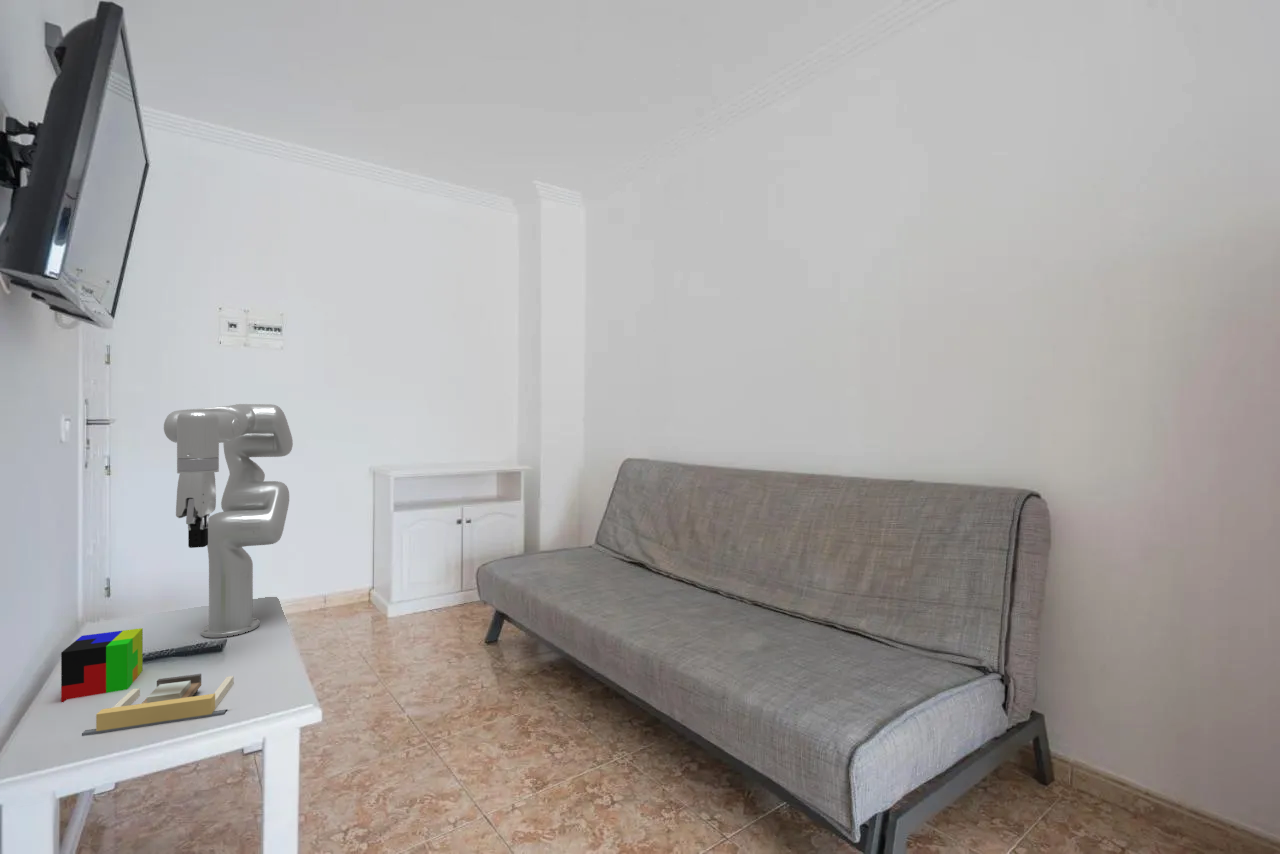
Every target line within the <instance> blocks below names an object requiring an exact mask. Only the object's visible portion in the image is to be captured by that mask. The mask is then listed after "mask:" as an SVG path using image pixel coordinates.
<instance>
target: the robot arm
mask: <svg viewBox="0 0 1280 854" xmlns="http://www.w3.org/2000/svg"><path fill="white" fill-rule="evenodd" d="M163 432H164V435H165V437H166V438H167V439H168V440H169V441H170V442H173V443H176V473H177V474H179V475H178V481H177V489H176V502H175V503H176V504H175V506H176V507H175V516H176V518H178V519H182V518H183V519H184V518H186V520H185V523H186V525H187V529H188V530H187V531H188V533H187V534H188V539H187V541H188V548H190V549H194V548H204V547H207V553H208V554H207V555H208V624H207V625H206V626H204V627H203V628H202V629H201V636H202V637H205V638H209V639H210V638H212V639H213V638H227V636H228V637H232V636H233V635H234V636H237V635H238V634H239V635H241V634H245V632H246V633H248V631H249V632H252V631H253V630H255V629H257V628H258V627H259V626H260V619H258V618H256V617H253V616H254V615H253V612H254V610H253V609H254V608H253V607H254V600H253V597H254V592H253V590H254V589H253V588H254V584H253V583H254V581H253V579H254V574H253V573H254V565H253V560H252V557H251V555H250V554H249V553H248V552H247V551H246V550H245V549H244V548H243V547H253V546H266V545H268V546H269V545H274V544H276V543H278V542H279V541H280V540H281V538H282V535H283V534H284V533H283V532H284V529H285V523H286V519H287V515H288V510H289V505H290V491H289V487H288V486H287V484H286V483H284V482H282V481H277V480H274V481H273V480H272V481H271V480H266V481H265V477H266V475H265V474H266V473H265V472H264V470H263V469H262V468H261V467H260V465H258V464H257V463H256V462H255V461H254V460H252V459H250V458H281V457H285V456H288V455H289V454H291V452H292V449H293V444H294V443H293V442H294V441H293V436H292V432H291V428H290V426H289V422H288V419H287V417H286V415H285V412H284V411H283V410H282V408H281V407H279V406H278V405H276V404H270V403H269V404H267V403H264V404H263V403H262V404H260V403H257V404H256V403H252V404H251V403H239V404H237V403H235V404H232V405H231V404H230V405H224V406H223V405H222V406H213V407H212V406H211V407H203V408H202V407H201V408H188V409H179V410H174V411H172V412H170V413H168V415H167V416H166V418H165V420H164V423H163ZM220 443H221V444H222V443H223V444H222V445H223V454H224V458H225V463H226V464H227V468H228V471H229V476H228V478H227V479H228V480H227V482H226V485H225V488H224V491H223V494H222V496H221V497H222V498H221V503H220V506H221V510H222V511H220V512H216V513H214V514H212V513H213V512H215V511H216V506H217V489H216V474H215V473H218V472H220V465H219V464H220V463H219V462H220V461H219V460H220V450H219V449H220ZM210 514H211V515H210ZM234 636H233V637H234Z"/></svg>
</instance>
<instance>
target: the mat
mask: <svg viewBox="0 0 1280 854" xmlns="http://www.w3.org/2000/svg"><path fill="white" fill-rule="evenodd" d="M234 679H235V678H234V675H230V676H226V677H225V679H224V680H223V681H222V683H221V684H220V685H219V686H218V688H217V689H216V690H215V691H214V693H209V694H203V695H195V696H194V695H193V696H192V697H186V698H179V699H172V700H165V701H158V702H150V703H143V704H141V703H138V704H133V703H134V702H135V701H136V700H137V699H138V698H139V697H140V696H141V688H132V689H131V690H130V691H128V692H127V694H125V695H124V696H123V697H122V698H121V699H119V700H118V702H117V703H116V704H114V705H113V706H112V707H108V708H103V709H100V710H99V711H98V712H97V713H96V714H95V715H96V716H95V717H96V718H95V721H96V723H95V728H93V729H85V730H84V731H82V733H81V736H82V737H83V736H88V735H96V734H103V733H109V732H116V731H122V730H129V729H135V728H142V727H149V726H155V725H162V724H169V723H175V722H182V721H187V720H188V721H189V720H196V719H202V718H208V717H216V716H223V715H225V714H226V712H227V711H228V708H227V709H221V710H216V708H217V707H218V705H220V702H221V701H222V700H223V698H224V697H225V696H226V695H227V693H228V692H229V691H230V689H231V688H232V686H233V685H234Z"/></svg>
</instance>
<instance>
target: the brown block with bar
mask: <svg viewBox="0 0 1280 854" xmlns="http://www.w3.org/2000/svg"><path fill="white" fill-rule="evenodd" d="M201 686H202V673H197V674H188V675H180V676H173V677H164V678H158V679H157V681H156V688H154V690H152V692H150V694H149V695H147V697H146V698H145V700H144V701H142V702H141V703H140V704H143V703H150V702H158V701H165V700H172V699H179V698H186V697H194V695H197V693H198V691H199V689H200V688H201Z"/></svg>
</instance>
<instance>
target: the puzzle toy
mask: <svg viewBox="0 0 1280 854" xmlns="http://www.w3.org/2000/svg"><path fill="white" fill-rule="evenodd" d="M143 633H144V632H143V628H142V627H140V628H132V629H125V630H118V631H117V630H116V631H108V632H102V633H95V634H94V633H92V634H84V635H80V636H79V637H78V638H76V640H75V641H73V642H72V643H71V644H70V645H69V646H67V647H66V648H65V649H64V650H63V651H61V654H60V655H61V659H60V662H61V663H60V664H61V665H60V666H61V669H60V670H61V671H60V672H61V673H60V675H61V676H60V678H61V679H60V681H61V682H60V686H61V689H60V690H61V691H60V693H61V696H60V697H61V699H60V701H61V702H63V703H65V702H66V701H67V700H70V699H71V700H72V699H77V698H85V697H90V696H96V695H103V694H107V693H114V692H115V693H116V692H120V691H126V690H129V689H130V688H131V686H132V685H133V683H134V682H135V681H136V680H137V678H138V677H139V676H140V675H141V674H142V672H143V659H144V658H143V654H144V653H143V645H144V644H143V643H144V642H143V635H144V634H143ZM61 702H60V703H61Z"/></svg>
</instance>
